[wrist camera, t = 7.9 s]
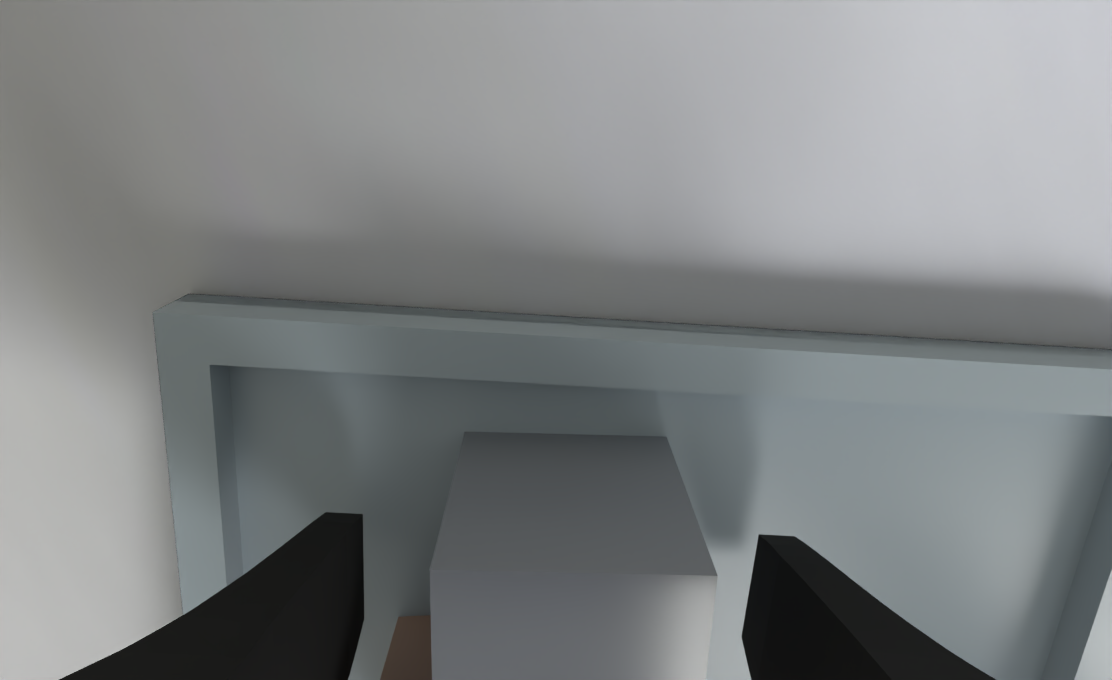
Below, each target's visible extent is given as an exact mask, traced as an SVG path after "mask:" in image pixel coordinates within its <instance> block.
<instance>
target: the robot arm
mask: <svg viewBox="0 0 1112 680" xmlns="http://www.w3.org/2000/svg"><path fill="white" fill-rule="evenodd" d="M363 622H364V558H363V514H353V513H334V512H325V513H324V514H322V515H321V516H320V517H318V518H317V519H316V520H314V521H313V522H312V523H310V524H309V525H308V526H307V527H305V528H304V529H303V530H302V531H300V532H299V533H298V534H296V535H295V536H294V537H293V538H291V539H290V540H289V541H288V542H286V543H285V544H284V545H282V546H281V547H280V548H278V549H277V550H276V551H274V552H273V553H272V554H271V555H269V556H268V557H267V558H265V559H264V560H263V561H261V562H260V563H259V564H257V565H256V566H255V567H253V568H252V569H251V570H249V571H248V572H247V573H245V574H244V575H242V576H241V577H239V578H238V579H236V580H235V581H234V582H232V583H231V584H229V585H228V586H226V587H225V588H223V589H222V590H220V591H219V592H217V593H216V594H214V595H213V596H211V597H210V598H209V599H207V600H206V601H204V602H203V603H201V604H200V605H198V606H197V607H195V608H194V609H192V610H190V611H189V612H187V613H186V614H184V615H182V616H181V617H179V618H178V619H176V620H174V621H172V622H171V623H169V624H167V625H166V626H164V627H162V628H161V629H159V630H157V631H155V632H153V633H152V634H150V635H148V636H146V637H144V638H143V639H141V640H139V641H137V642H135V643H134V644H132V645H130V646H128V647H126V648H124V649H122V650H120V651H118V652H116V653H114V654H112V655H110V656H108V657H106V658H104V659H102V660H99V661H97V662H95V663H93V664H91V665H89V666H87V667H85V668H83V669H81V670H78V671H76V672H74V673H72V674H70V675H68V676H66V677H64V678H62V679H60V680H348V678H349V675H350V672H351V668H352V664H353V661H354V657H355V653H356V650H357V646H358V642H359V638H360V634H361V630H362V626H363ZM741 637H742V642H743V646H744V650H745V655H746V659H747V664H748V668H749V672H750V676H751V680H996V679H994V678H993V677H991V676H989V675H988V674H986V673H984V672H983V671H981V670H979V669H978V668H976V667H974V666H973V665H971V664H969V663H968V662H966V661H965V660H963V659H962V658H960V657H958V656H957V655H955V654H954V653H952V652H951V651H949V650H948V649H946V648H945V647H943V646H942V645H940V644H939V643H937V642H936V641H934V640H933V639H932V638H930V637H929V636H927V635H926V634H924V633H923V632H921V631H920V630H919V629H917V628H916V627H914V626H913V625H911V624H910V623H909V622H907V621H906V620H905V619H903V618H902V617H900V616H899V615H898V614H896V613H895V612H894V611H892V610H891V609H890V608H888V607H887V606H886V605H884V604H883V603H882V602H880V601H879V600H878V599H876V598H875V597H874V596H872V595H871V594H870V593H869V592H867V591H866V590H865V589H863V588H862V587H861V586H860V585H858V584H857V583H856V582H854V581H853V580H852V579H851V578H849V577H848V576H847V575H846V574H844V573H843V572H842V571H841V570H839V569H838V568H837V567H835V566H834V565H833V564H832V563H830V562H829V561H828V560H827V559H825V558H824V557H823V556H821V555H820V554H819V553H818V552H816V551H815V550H814V549H812V548H811V547H810V546H808V545H807V544H806V543H804V542H803V541H801V540H800V539H798V538H797V537H795V536H781V535H762V534H759V536H758V541H757V547H756V553H755V559H754V565H753V571H752V577H751V583H750V589H749V595H748V600H747V606H746V612H745V618H744V624H743V630H742V636H741Z"/></svg>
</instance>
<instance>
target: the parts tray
mask: <svg viewBox="0 0 1112 680" xmlns="http://www.w3.org/2000/svg"><path fill="white" fill-rule="evenodd" d="M153 321H154V331H155V341H156V351H157V361H158V371H159V381H160V391H161V400H162V410H163V420H164V430H165V440H166V450H167V460H168V470H169V480H170V490H171V500H172V510H173V520H174V530H175V539H176V549H177V559H178V569H179V579H180V589H181V599H182V609H183V615H184V614H186V613H187V612H189V611H190V610H192V609H194V608H195V607H197V606H198V605H200V604H201V603H203V602H204V601H206V600H207V599H209V598H210V597H211V596H213V595H214V594H216V593H217V592H219V591H220V590H222V589H223V588H225V587H226V586H228V585H229V584H231V583H232V582H234V581H235V580H236V579H238V578H239V577H241V576H242V575H244V574H245V573H247V572H248V571H249V570H251V569H252V568H253V567H255V566H256V565H257V564H259V563H260V562H261V561H263V560H264V559H265V558H267V557H268V556H269V555H271V554H272V553H273V552H274V551H276V550H277V549H278V548H280V547H281V546H282V545H284V544H285V543H286V542H288V541H289V540H290V539H291V538H293V537H294V536H295V535H296V534H298V533H299V532H300V531H302V530H303V529H304V528H305V527H307V526H308V525H309V524H310V523H312V522H313V521H314V520H316V519H317V518H318V517H320V516H321V515H322V514H324V513H325V512H334V513H353V514H363V558H364V622H363V626H362V630H361V634H360V638H359V642H358V646H357V650H356V653H355V657H354V661H353V664H352V668H351V672H350V675H349V678H348V680H380V678H381V675H382V671H383V668H384V664H385V661H386V657H387V654H388V651H389V647H390V644H391V640H392V637H393V633H394V630H395V627H396V623H397V620H398V617H403V616H423V615H431V609H430V567H431V563H432V559H433V555H434V551H435V547H436V543H437V539H438V535H439V531H440V527H441V523H442V519H443V515H444V511H445V507H446V503H447V499H448V496H449V492H450V488H451V484H452V480H453V476H454V472H455V468H456V464H457V460H458V456H459V452H460V448H461V444H462V440H463V436H464V432H504V433H543V434H583V435H623V436H663V437H667V439H668V442H669V445H670V447H671V450H672V453H673V456H674V458H675V461H676V464H677V466H678V469H679V472H680V475H681V477H682V480H683V483H684V485H685V488H686V491H687V494H688V496H689V499H690V502H691V504H692V507H693V510H694V513H695V515H696V518H697V521H698V523H699V526H700V529H701V532H702V534H703V537H704V540H705V542H706V545H707V548H708V551H709V553H710V556H711V559H712V561H713V564H714V567H715V570H716V572H717V575H718V578H717V587H716V595H715V604H714V613H713V621H712V630H711V639H710V648H709V656H708V665H707V674H706V680H751V676H750V672H749V668H748V664H747V659H746V655H745V650H744V646H743V642H742V637H741V636H742V630H743V624H744V618H745V612H746V606H747V600H748V595H749V589H750V583H751V577H752V571H753V565H754V559H755V553H756V547H757V541H758V536H759V534H762V535H781V536H795V537H797V538H798V539H800V540H801V541H803V542H804V543H806V544H807V545H808V546H810V547H811V548H812V549H814V550H815V551H816V552H818V553H819V554H820V555H821V556H823V557H824V558H825V559H827V560H828V561H829V562H830V563H832V564H833V565H834V566H835V567H837V568H838V569H839V570H841V571H842V572H843V573H844V574H846V575H847V576H848V577H849V578H851V579H852V580H853V581H854V582H856V583H857V584H858V585H860V586H861V587H862V588H863V589H865V590H866V591H867V592H869V593H870V594H871V595H872V596H874V597H875V598H876V599H878V600H879V601H880V602H882V603H883V604H884V605H886V606H887V607H888V608H890V609H891V610H892V611H894V612H895V613H896V614H898V615H899V616H900V617H902V618H903V619H905V620H906V621H907V622H909V623H910V624H911V625H913V626H914V627H916V628H917V629H919V630H920V631H921V632H923V633H924V634H926V635H927V636H929V637H930V638H932V639H933V640H934V641H936V642H937V643H939V644H940V645H942V646H943V647H945V648H946V649H948V650H949V651H951V652H952V653H954V654H955V655H957V656H958V657H960V658H962V659H963V660H965V661H966V662H968V663H969V664H971V665H973V666H974V667H976V668H978V669H979V670H981V671H983V672H984V673H986V674H988V675H989V676H991V677H993V678H994V679H996V680H1112V350H1110V349H1094V348H1077V347H1061V346H1044V345H1027V344H1011V343H994V342H978V341H961V340H945V339H928V338H912V337H895V336H879V335H862V334H846V333H829V332H813V331H796V330H779V329H763V328H746V327H730V326H713V325H697V324H680V323H664V322H647V321H631V320H614V319H598V318H581V317H565V316H548V315H531V314H515V313H498V312H482V311H465V310H449V309H432V308H416V307H399V306H383V305H366V304H350V303H333V302H316V301H300V300H283V299H267V298H250V297H234V296H217V295H201V294H188V295H186V296H184V297H182V298H180V299H178V300H176V301H174V302H172V303H170V304H168V305H166V306H164V307H162V308H160V309H158V310H156V311H155V312H153Z"/></svg>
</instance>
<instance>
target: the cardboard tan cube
mask: <svg viewBox="0 0 1112 680" xmlns="http://www.w3.org/2000/svg"><path fill="white" fill-rule="evenodd" d="M380 680H432V657H431V615H423V616H403V617H398V620H397V623H396V627H395V630H394V633H393V637H392V640H391V644H390V647H389V651H388V654H387V657H386V661H385V664H384V668H383V671H382V675H381V678H380Z"/></svg>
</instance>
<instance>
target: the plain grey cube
mask: <svg viewBox="0 0 1112 680" xmlns="http://www.w3.org/2000/svg"><path fill="white" fill-rule="evenodd" d="M717 578H718V575H717V572H716V570H715V567H714V564H713V561H712V559H711V556H710V553H709V551H708V548H707V545H706V542H705V540H704V537H703V534H702V532H701V529H700V526H699V523H698V521H697V518H696V515H695V513H694V510H693V507H692V504H691V502H690V499H689V496H688V494H687V491H686V488H685V485H684V483H683V480H682V477H681V475H680V472H679V469H678V466H677V464H676V461H675V458H674V456H673V453H672V450H671V447H670V445H669V442H668V439H667V437H663V436H623V435H583V434H543V433H504V432H464V436H463V440H462V444H461V448H460V452H459V456H458V460H457V464H456V468H455V472H454V476H453V480H452V484H451V488H450V492H449V496H448V499H447V503H446V507H445V511H444V515H443V519H442V523H441V527H440V531H439V535H438V539H437V543H436V547H435V551H434V555H433V559H432V563H431V567H430V609H431V657H432V680H706V674H707V665H708V656H709V648H710V639H711V630H712V621H713V613H714V604H715V595H716V587H717Z"/></svg>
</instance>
